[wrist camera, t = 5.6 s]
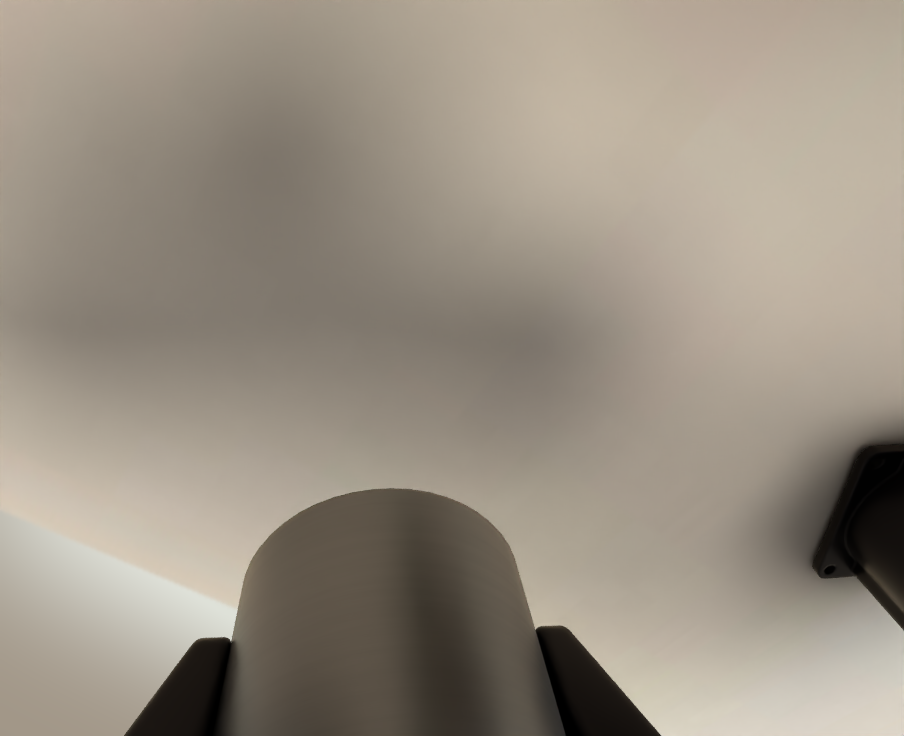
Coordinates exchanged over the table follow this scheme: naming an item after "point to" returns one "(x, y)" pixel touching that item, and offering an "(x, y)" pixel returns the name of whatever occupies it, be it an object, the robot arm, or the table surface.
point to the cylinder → (385, 627)
